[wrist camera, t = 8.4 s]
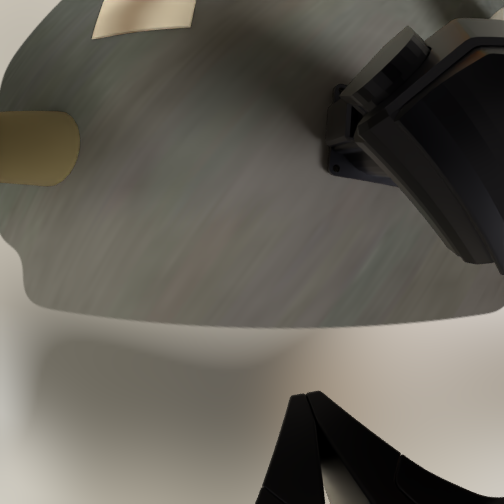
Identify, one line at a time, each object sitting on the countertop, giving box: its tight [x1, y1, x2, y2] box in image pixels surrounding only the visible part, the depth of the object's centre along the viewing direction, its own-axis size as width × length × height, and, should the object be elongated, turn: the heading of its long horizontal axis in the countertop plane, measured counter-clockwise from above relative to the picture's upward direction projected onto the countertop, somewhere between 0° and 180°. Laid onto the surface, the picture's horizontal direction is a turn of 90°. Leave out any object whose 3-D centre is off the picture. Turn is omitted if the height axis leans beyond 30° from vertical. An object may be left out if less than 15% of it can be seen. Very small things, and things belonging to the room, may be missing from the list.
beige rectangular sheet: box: [92, 0, 196, 40], centre depth 14 cm, size 8×6×1 cm
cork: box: [0, 111, 80, 186], centre depth 12 cm, size 6×6×11 cm
